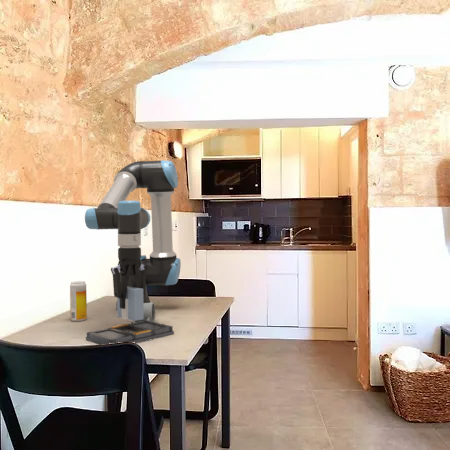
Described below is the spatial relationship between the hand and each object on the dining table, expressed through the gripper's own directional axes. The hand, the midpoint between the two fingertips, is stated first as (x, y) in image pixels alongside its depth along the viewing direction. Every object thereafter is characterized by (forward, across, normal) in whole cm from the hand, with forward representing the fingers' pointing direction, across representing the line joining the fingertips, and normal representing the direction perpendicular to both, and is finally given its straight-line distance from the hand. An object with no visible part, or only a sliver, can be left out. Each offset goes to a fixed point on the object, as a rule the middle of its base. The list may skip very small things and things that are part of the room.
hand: (130, 317), depth 154 cm
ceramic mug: (+7, +15, +14) cm, 22 cm away
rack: (+7, 0, 0) cm, 7 cm away
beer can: (+7, +2, +38) cm, 39 cm away
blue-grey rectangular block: (0, 0, 0) cm, 0 cm away
